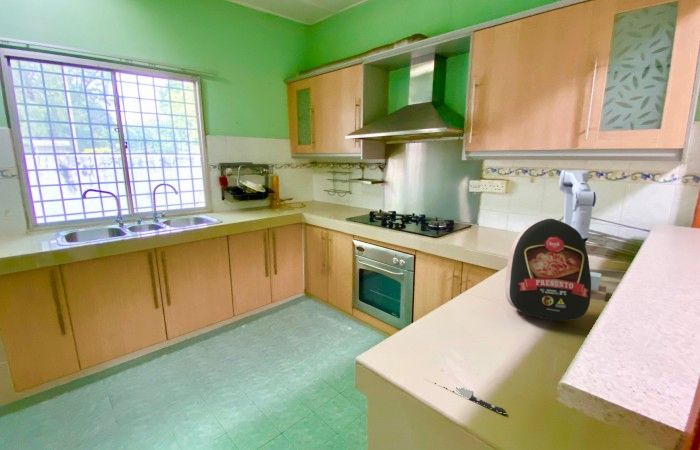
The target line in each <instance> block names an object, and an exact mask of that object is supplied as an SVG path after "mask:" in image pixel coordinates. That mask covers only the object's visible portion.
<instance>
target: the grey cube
mask: <svg viewBox="0 0 700 450" xmlns="http://www.w3.org/2000/svg"><path fill="white" fill-rule="evenodd" d="M590 275H591V290H596V291H598V289H599V285H601V278H602V273H600V272H593V271H590Z"/></svg>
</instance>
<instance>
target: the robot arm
mask: <svg viewBox="0 0 700 450" xmlns="http://www.w3.org/2000/svg"><path fill="white" fill-rule="evenodd" d="M589 177H590V172H589V170H588V169H585V170H584V169H583V170H581V169H562V170H561V171H560V173H559V184H558V186H559V190H560V191H562V192H563V196H564V200H563V201H564V203H563V205H564V206H563V221H562V222H563V223H566V224H568V225H570V226H571V227H573V228H574V229H576V230H577V231H578V232H579V233H580V235H581V237H582V239H583V241H584V244H585V246H586V245H587V243H586V242H587V241H588V239H589V238H592V237H593V235H592V234H589V232H590V226H591V220H592V214H593V213H592V212H593V208H594V207H595V205H596V202H597V191H595V190H591V186H590V185H589V179H590V178H589Z"/></svg>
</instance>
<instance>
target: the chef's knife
mask: <svg viewBox="0 0 700 450" xmlns="http://www.w3.org/2000/svg"><path fill="white" fill-rule="evenodd" d="M465 388H466V387H463V388H461V389H460V388H459V389H458V388H457V387H456V389H457V390H458V391H459V392H460V393H459V392H458V391H457V390H456V391H457V392H458V393H459V394H461V395H463V396H465V397H467V398H469V399H471V400H473V401H475V402H474V403H476V402H478V403H480V404H482V405H485V406H487V407H489V408H492V409H494V410H497V411H498V412H502V413H507V411H506V409H504V408H503V407H499V406H496V405H493V404H490V403H489V402H486V401H485V400H482V399H481V398H479V397H476V396H474V395H472V392H473V393H474V391H473V390H471V389H469V390H467V389H468V388H466V390H465ZM470 390H471V391H470ZM469 399H468V400H469ZM471 400H470V401H471ZM473 401H472V402H473ZM478 403H477V404H478ZM480 404H479V405H480ZM482 405H481V406H482ZM485 406H484V407H485ZM487 407H486V408H487ZM489 408H488V409H489ZM498 412H497V413H498Z"/></svg>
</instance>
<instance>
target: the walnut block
mask: <svg viewBox="0 0 700 450" xmlns="http://www.w3.org/2000/svg"><path fill="white" fill-rule="evenodd" d="M606 296H607V286H606V285H602V284H600V285H599V289H598V291H596V290H591V297H590V299H593V300H597V301H601V300H604V301H603V302H605V301H606Z"/></svg>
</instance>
